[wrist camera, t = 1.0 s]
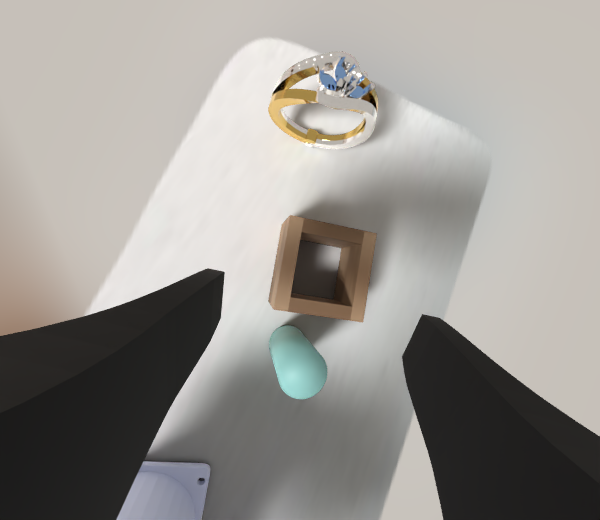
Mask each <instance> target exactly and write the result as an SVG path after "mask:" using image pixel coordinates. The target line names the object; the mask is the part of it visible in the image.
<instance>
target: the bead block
mask: <svg viewBox="0 0 600 520" xmlns="http://www.w3.org/2000/svg"><path fill="white" fill-rule="evenodd" d="M376 236H377V234H376V233H372V232H367V231H362V230H358V229H353V228H348V227H344V226H339V225H334V224H329V223H325V222H320V221H315V220H311V219H306V218H301V217H297V216H292V215H290V216H289V217H288V218H287V219H286V220H285V222H284V223H283V224H282V227H281V232H280V238H279V244H278V249H277V255H276V261H275V266H274V272H273V278H272V283H271V289H270V295H269V300H268V301H269V303H270V305H271V306H272V308H273V309H274V310H281V311H288V312H294V313H301V314H308V315H315V316H322V317H329V318H336V319H343V320H350V321H357V322H363V319H364V312H365V306H366V300H367V293H368V287H369V280H370V274H371V268H372V261H373V255H374V249H375V242H376ZM300 240H304V241H309V242H314V243H319V244H324V245H329V246H334V247H339V248H342V249H341V255H340V261H339V267H338V273H337V279H336V286H335V292H334V298H333V299H327V298H321V297H314V296H308V295H302V294H295V293H291V290H292V284H293V279H294V273H295V267H296V261H297V255H298V250H299V244H300Z"/></svg>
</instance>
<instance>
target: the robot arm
mask: <svg viewBox="0 0 600 520" xmlns="http://www.w3.org/2000/svg"><path fill="white" fill-rule="evenodd" d="M224 273H225V272H222V271H217V270H213V269H205V270H203V271H200V272H198V273H196V274H193V275H191V276H189V277H187V278H185V279H183V280H180V281H178V282H176V283H174V284H171V285H169V286H167V287H165V288H163V289H160V290H158V291H155V292H153V293H150V294H148V295H145V296H143V297H140V298H138V299H135V300H133V301H130V302H127V303H125V304H122V305H119V306H116V307H113V308H110V309H107V310H104V311H100V312H97V313H94V314H91V315H87V316H84V317H80V318H76V319H73V320H68V321H64V322H60V323H57V324H52V325H48V326H44V327H41V328H37V329H32V330H27V331H23V332H18V333H13V334H8V335H4V336H0V520H202V515H203V509H204V504H205V498H206V493H207V487H208V482H209V476H210V466H209V465H208V464H205V463H180V462H150V461H144V459H145V457H146V455H147V453H148V451H149V449H150V447H151V444H152V442H153V440H154V438H155V436H156V434H157V432H158V430H159V428H160V426H161V424H162V422H163V420H164V418H165V416H166V414H167V412H168V410H169V409H170V407H171V405H172V403H173V401H174V400H175V398H176V396H177V395H178V393H179V391H180V390H181V388H182V387H183V385H184V383H185V382H186V380H187V379H188V377H189V375H190V374H191V372H192V370H193V369H194V367H195V366H196V364H197V362H198V361H199V359H200V357H201V356H202V354H203V353H204V351H205V349H206V348H207V346H208V344H209V343H210V341H211V339H212V336H213V334H214V332H215V330H216V328H217V325H218V323H219V321H220V318H221V308H222V296H223V285H224ZM402 359H403V366H404V372H405V378H406V383H407V387H408V390H409V393H410V397H411V400H412V403H413V406H414V409H415V413H416V416H417V419H418V422H419V425H420V428H421V431H422V434H423V437H424V440H425V444H426V447H427V450H428V453H429V457H430V460H431V464H432V468H433V472H434V477H435V481H436V486H437V491H438V495H439V499H440V504H441V509H442V514H443V520H600V436H598V435H596V434H595V433H593V432H592V431H590V430H589V429H587V428H586V427H584V426H582V425H581V424H579V423H578V422H576V421H575V420H573V419H572V418H570V417H569V416H567V415H566V414H565V413H563V412H562V411H560V410H559V409H557V408H556V407H554V406H553V405H551V404H550V403H548V402H547V401H546V400H544V399H543V398H541V397H540V396H539V395H537V394H536V393H534V392H533V391H532V390H530V389H529V388H528V387H526V386H525V385H524V384H523V383H521V382H520V381H518V380H517V379H516V378H515V377H513V376H512V375H511V374H509V373H508V372H507V371H506V370H504V369H503V368H502V367H500V366H499V365H498V364H497V363H495V362H494V361H493V360H492V359H490V358H489V357H488V356H487V355H486V354H484V353H483V352H482V351H481V350H479V349H478V348H477V347H476V346H475V345H473V344H472V343H471V342H470V341H469V340H467V339H466V338H465V337H464V336H462V335H461V334H460V333H459V332H458V331H456V330H455V329H453V328H452V327H451V326H450V325H448V324H447V323H446V322H444V321H443V320H441V319H440V318H437V317H432V316H428V315H423V314H422V316H421V318H420V320H419V322H418V324H417V326H416V329H415V331H414V333H413V335H412V337H411V339H410V341H409V343H408V345H407V348H406V350H405V352H404V354H403V356H402ZM199 478H204V479H205V480H204V481H199Z"/></svg>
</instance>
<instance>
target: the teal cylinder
mask: <svg viewBox="0 0 600 520" xmlns="http://www.w3.org/2000/svg"><path fill="white" fill-rule="evenodd" d="M269 349H270V353H271V356H272V360H273V363H274V367H275V370H276V374H277V377H278V381H279V384H280V386H281V388H282V390H283V391H284V392H285V393H286V394H287V395H288V396H290V397H292V398H295V399H307V398H310V397H312V396H314V395H315V394H317V393H318V392H319V391H320V390H321V389H322V387H323V386H324V384H325V381H326V378H327V366H326V363H325V360H324V359H323V357H322V356H321V355H320V354H319V352H318V351H317V350H316V349H315V348H314V346H313V345H312V344H311V343H310V342H309V341H308V339H307V338H306V337H305V336H304V335H303V333H302V332H301V331H300V330H299V329H298V328H296V327H294V326H290V325H285V326H282V327H279V328H278V329H276V330H275V331H274V332H273V334H272V335H271V337H270V340H269Z"/></svg>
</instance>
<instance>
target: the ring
mask: <svg viewBox="0 0 600 520" xmlns="http://www.w3.org/2000/svg"><path fill="white" fill-rule="evenodd" d="M330 70H333V71H334V73H333V77H332V76H331V75H329V74H326V73H324V72H325V71H330ZM345 70H347V72H346V71H345ZM315 74H317V82H318V83H319V84H320V86H319V87H318V88H317V91H311V90H304V89H289V88H290V87H292V86H293V85H294V84H296V83H297V82H299V81H301V80H302V79H305V78H307V77H309V76H312V75H315ZM366 77H367V72H366V71H364V72H363V73H361V71H360V67H359V63H358V61H357V60H356V58H355V57H353V56H352V55H351V54H348V53H346V52H343V51H341V52H329V53H325V54H321V55H317V56H314V57H311V58H308V59H305V60H303V61H300V62H298V63H296V64H295V65H293V66H292V67H290V68H289V69H288V70H287V71H285V72H284V73H283V75H282V76H281V77H280V78H279V79H278V81H277V82H276V84H275V86H274V89H273V92H272V96H271V100H270V104H269V108H268V111H269V115H270V117H271V119H272V120H273V122H274V123H275V124H276V125H277V126H278V127H279V128H280V129H281V130H282V131H284V132H285V133H287V134H288V135H290V136H291V137H293V138H295V139H297V140H299V141H301V142H304V144H305V145H306V146H309V147H314V146H315V147H320V148H326V149H344V148H350V147H353V146H356V145H359V144H361V143H363V142H364V141H366V140H367V139H368V138H369V137H370V136H371V134H372V133H373V130H374V127H375V123H376V119H377V112H378V98H377V94H376V92H375V89H374V88H375V85H374V83H372V82H370V81H369V80H368V79H367V78H366ZM332 95H334V96H332ZM339 96H341V97H339ZM306 103H320V104H322V105H324V106H326V107H328V108H331V109H338V110H349V111H355V112H358V113H360V114H362V115H363V116H364V119H363V121H362V122H361V124H360V125H359V126H358V127H356V128H355V129H354V130H352V131H350V132H348V133H345V134H341V135H323V134H318V132H317V131H316V130H313V129H308V130H307V129H305V128H303V127H301V126H299V125H297V124H296V123H295V122H293V121H292V120H291V119H290V118H289V117H288V116H287V115H286V113H285V112H284V110H283V107H285V106H289V105H295V104H306Z"/></svg>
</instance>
